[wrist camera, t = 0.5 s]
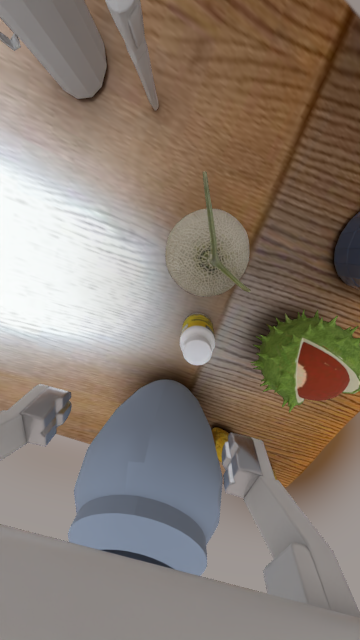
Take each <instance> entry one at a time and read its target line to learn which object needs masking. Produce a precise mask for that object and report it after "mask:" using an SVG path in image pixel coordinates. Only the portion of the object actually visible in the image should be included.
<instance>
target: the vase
mask: <svg viewBox="0 0 360 640" xmlns="http://www.w3.org/2000/svg"><path fill="white" fill-rule="evenodd" d="M222 479H223V477H222V473H221V469H220V465H219V460H218V456H217V452H216V448H215V443H214V439H213V435H212V431H211V427H210V425H209V423H208V421H207V419H206V417H205V414H204V412H203V410H202V408H201V406H200V404H199V402H198V400H197V399H196V398H195V397H194V395H193V394H192V393H191V392H190V391H189V389H188V388H186V387H185V386H184V385H182V384H181V383H179V382H176V381H174V380H166V379H165V380H157V381H154V382H152V383H150V384H147V385H145V386H143V387H142V388H140V389H139V390H137V391H136V392H135V393H134V394H133V395H132V396H131V397H130V398H128V399H127V400H126V401H125V402H124V403H123V404H122V405H121V406H119V407H118V408H117V409H116V411H115V412H114V413H113V415H112V416H111V417H110V419H109V420H108V421H107V423H106V424H105V425H104V427H103V428H102V429H101V431H100V432H99V433H98V435H97V436H96V437H95V439H94V440H93V441H92V443H91V444H90V446H89V448H88V450H87V452H86V455H85V458H84V461H83V464H82V467H81V470H80V473H79V476H78V479H77V482H76V485H75V489H74V495H75V503H76V512H77V516H76V518H75V519H74V521H73V523H72V525H71V527H70V529H69V533H68V538H69V542H71V543H75V544H79V545H83V546H86V547H90V548H94V549H98V550H102V551H106V552H109V553H113V554H117V555H121V556H125V557H129V558H132V559H136V560H140V561H144V562H148V563H152V564H156V565H159V566H163V567H167V568H171V569H175V570H179V571H182V572H186V573H190V574H194V575H198V576H200V575H201V574H202V573H203V572H204V571H205V569H206V567H207V552H206V545H207V543H208V541H209V540H210V538H211V536H212V535H213V533H214V531H215V530H216V528H217V526H218V523H219V517H220V503H221V492H222Z"/></svg>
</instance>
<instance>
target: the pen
mask: <svg viewBox="0 0 360 640" xmlns="http://www.w3.org/2000/svg"><path fill="white" fill-rule="evenodd" d="M105 1H106V4H107V6H108V9H109V11H110V13H111V16H112V18H113V20H114V22H115V24H116V26H117V28H118V30H119V32H120V34H121V35H122V37H123V39H124V41H125V44H126V47H127V50H128V52H129V54H130V57H131V59H132V61H133V63H134V65H135V68H136V70H137V72H138V74H139V77H140V79H141V82H142V84H143V87H144V89H145V92H146V94H147V97H148V100H149V102H150V104H151V105H152V107H153V108H154V110H155V111H156V110H157V108H158V107H159V104H158V97H157V93H156V89H155V84H154V79H153V74H152V69H151V64H150V58H149V53H148V48H147V44H146V40H145V37H144V24H143V16H142V9H141V3H140V0H105Z"/></svg>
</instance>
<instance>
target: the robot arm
mask: <svg viewBox="0 0 360 640" xmlns="http://www.w3.org/2000/svg"><path fill="white" fill-rule="evenodd" d="M70 398H71V392H68V391H64V390H61V389H57V388H54V387H50V386H47V385H43V384H39V385H36V386H35V387H34V388H33V389H32V390H30V391H29V392H28V393H27V394H26V395H25V396H23V397H22V398H21V399H20V400H19V401H18V402H16V403H15V404H14V405H13V406H12V407H11V408H9V409H8V410H7V411H5V410H3V411H0V460H2V459H4V458H5V457H7V456H8V455H10V454H11V453H13V452H15V451H16V450H18V449H19V448H21V447H22V446H23V445H25V444H27V443H31V444H36V445H40V446H46V445H47V444H48V443H49V441H50V440H51V439H52V437H53V436H54V435H55V434H56V429H57V427H58V426H60V425H62V424H63V423H64V422H65V420H66V419H67V418H68V416H69V413H70V411H71V402H70V401H69V399H70ZM222 465H223V466H224V468H225V470H226V471H225V473H224V475H223V477H224V487H225V493H228V494H231V495H235V496H238V497H242V498H244V499H243V500H244V501H245V503H246V505H247V507H248V509H249V511H250V513H251V515H252V517H253V519H254V521H255V523H256V525H257V527H258V529H259V531H260V533H261V535H262V537H263V539H264V540H265V542H266V545H267V547H268V548H269V551H270V553H271V555H272V557H273V558H274V560H273V561H272V562H271V563H269V564H268V565H267V566H266V567H265V569H264V571H263V573H264V578H265V583H266V589H267V593H263V592H259V591H255V590H251V589H248V588H244V587H240V586H236V585H232V584H229V583H225V582H221V581H217V580H213V579H209V578H205V577H202V576H198V575H194V574H190V573H186V572H182V571H179V570H175V569H171V568H167V567H163V566H159V565H156V564H152V563H148V562H144V561H140V560H136V559H132V558H129V557H125V556H121V555H117V554H113V553H109V552H106V551H102V550H98V549H94V548H90V547H86V546H83V545H79V544H75V543H71V542H67V541H63V540H59V539H56V538H52V537H48V536H44V535H40V534H36V533H32V532H29V531H25V530H21V529H17V528H13V527H10V526H6V525H2V524H0V640H360V612H359V610H358V608H357V605H356V603H355V601H354V598H353V596H352V594H351V591H350V589H349V587H348V584H347V582H346V580H345V578H344V575H343V573H342V570H341V568H340V566H339V563H338V561H337V559H336V557H335V554H334V552H333V550H332V549H331V548H330V546H329V545H328V544H327V543H326V541H325V540H324V539H323V537H322V536H321V535H320V534H319V532H318V531H317V530H316V528H315V527H314V526H313V525H312V523H311V522H310V521H309V519H308V518H307V517H306V515H305V514H304V513H303V511H302V510H301V509H300V508H299V506H298V505H297V504H296V502H295V501H294V500H293V499H292V497H291V496H290V495H289V493H288V492H287V491H286V489H285V488H284V487H283V486H282V484H281V483H280V482H279V480H275V477H274V474H273V471H272V468H271V465H270V462H269V459H268V455H267V452H266V449H265V446H264V443H263V441H262V440H259V439H255V438H251V437H248V436H244V435H240V434H235V433H230V434H229V436H228V441H227V442H225V444H224V446H223V449H222Z"/></svg>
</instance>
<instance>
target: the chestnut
mask: <svg viewBox="0 0 360 640" xmlns="http://www.w3.org/2000/svg"><path fill="white" fill-rule="evenodd" d="M337 317H338V316H336V317H335V318H334V319H333V320H331V321H330V322H326V321H323V317H322V318H321V320H320V319H319V317H318V310H317V312H316V314H315V315H314V317H313V318H307V317H306V316H305V314H304V310H303V313H302V316H301V317H300V315H299V312H298V317H297V319H294V320H291V319H289V318H288V316H287V315H286V313H285V318H286V321H285V322H280V321H279V320H278V319H277V318H276V320H277V322H278V325H277V326H276V327H275V326H274V325H273V326H274V327H272V326H269V325H268V324H267V326H268V327H269V329H270V332H269V333H268V335H267V336H263V335H260V334H259V335H260V336H261V337H262V338H259V337H257V336H256V337H257V338H258V339H260V340H261V341H262V345H254V346H255V347H257V348H259V349H260V353H258V354H256V355H259V359H258V360H257V361H255V362H251V363H256V364H252V365H255V366H259V367H257V368H253V369H259V370H261V371H262V374H263V376H264V379H263V380H261V381H265V382H264V383H263V384H262V385H260V386H263V385H267V384H268V387H267V388H266V389H265V390H264V391H267V390H270V389H273V390H275V392H277V393H278V394H279V395H281V396H282V397H283V399H284V402H283V405H282V407H283V406H284V405H285V404H286V403H287V402H288V406H289V405H290V406H289V407H290V410H289V413H290V411H291V410H292V409H293V407H294V406H295V405H300V404H302V403H303V401H304V399H309V400H315V401H319V400H327V399H330V398H334V397H336V396H337V395H339V394H340V393H351V394H355V393H356V392H358V391H360V345H359V344H360V338H353V336H352V334H353V332H354V331H355V330H356V329H357V328H358V326H357V327H355V328H354V329H351V330H349V329H350V328H351V327H349V328H348V329H346V330H343V329H342V328H341V327H339V326H336V323H335V322H336V318H337ZM264 391H263V392H264Z"/></svg>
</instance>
